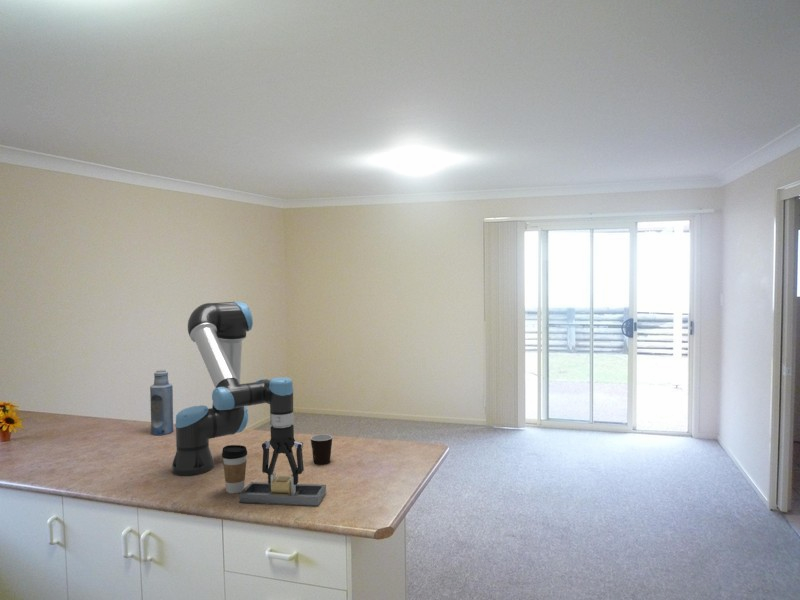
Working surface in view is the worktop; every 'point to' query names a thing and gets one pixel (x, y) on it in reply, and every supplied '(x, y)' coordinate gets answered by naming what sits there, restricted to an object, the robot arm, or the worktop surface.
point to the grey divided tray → (283, 495)
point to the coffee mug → (321, 448)
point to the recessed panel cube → (281, 485)
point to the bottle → (161, 404)
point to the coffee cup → (234, 467)
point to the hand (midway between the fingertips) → (283, 493)
